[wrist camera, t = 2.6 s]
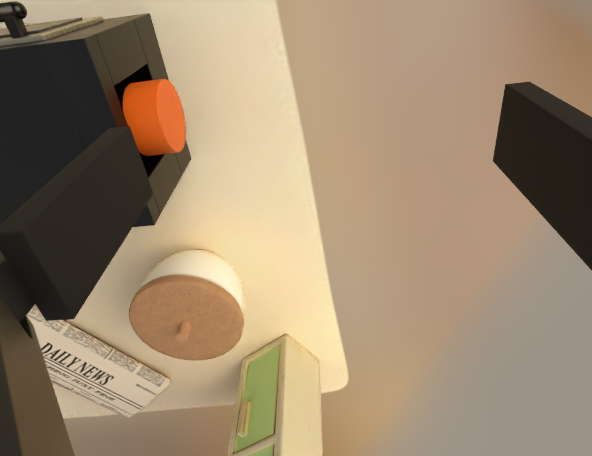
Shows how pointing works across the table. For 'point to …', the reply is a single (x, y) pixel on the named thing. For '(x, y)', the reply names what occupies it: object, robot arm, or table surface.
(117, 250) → the robot arm
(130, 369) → the newspaper
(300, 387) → the toy refrigerator
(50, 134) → the box
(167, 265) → the trinket box
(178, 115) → the button
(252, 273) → the table surface
